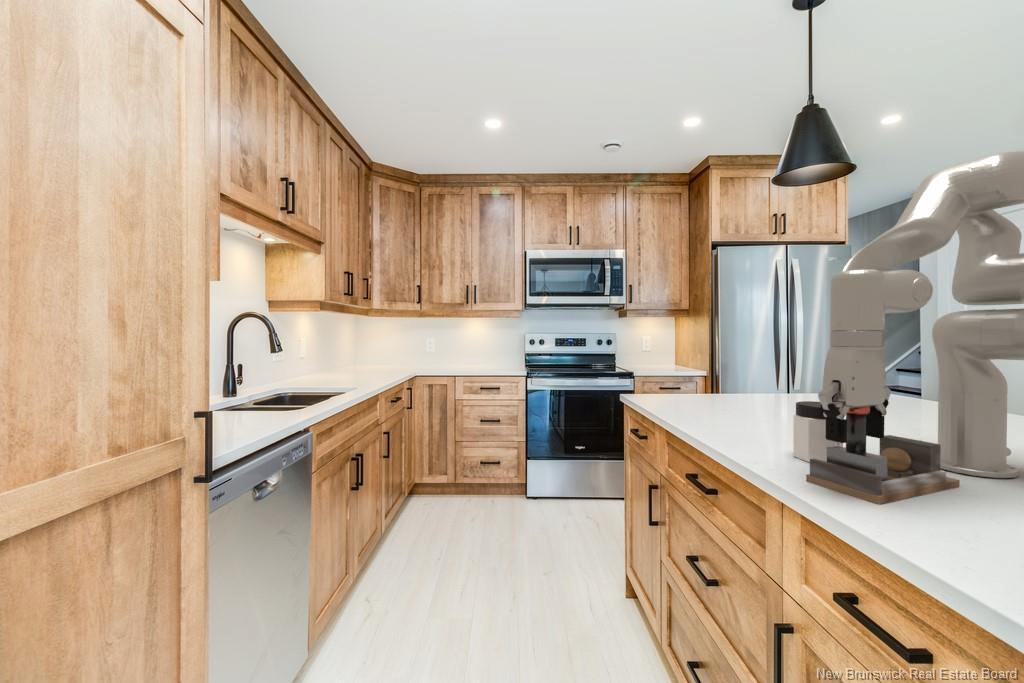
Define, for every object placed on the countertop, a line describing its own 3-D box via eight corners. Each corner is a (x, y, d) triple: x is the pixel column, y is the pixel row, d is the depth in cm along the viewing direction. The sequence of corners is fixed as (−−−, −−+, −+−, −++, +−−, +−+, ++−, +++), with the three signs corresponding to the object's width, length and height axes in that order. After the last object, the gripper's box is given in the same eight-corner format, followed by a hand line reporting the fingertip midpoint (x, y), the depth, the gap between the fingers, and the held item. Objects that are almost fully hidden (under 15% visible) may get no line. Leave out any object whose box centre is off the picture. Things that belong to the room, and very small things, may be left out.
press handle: (839, 472, 82) (839, 401, 81) (888, 486, 74) (889, 408, 74) (825, 474, 80) (825, 402, 80) (874, 489, 73) (874, 410, 73)
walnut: (888, 466, 84) (888, 443, 84) (916, 473, 80) (916, 449, 80) (873, 469, 82) (873, 446, 82) (901, 476, 78) (901, 452, 78)
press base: (882, 467, 89) (882, 432, 89) (959, 486, 78) (960, 446, 78) (806, 481, 82) (806, 442, 81) (879, 504, 70) (879, 459, 70)
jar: (830, 467, 90) (830, 408, 89) (787, 458, 96) (787, 403, 96) (848, 460, 95) (849, 404, 94) (806, 451, 101) (806, 399, 101)
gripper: (865, 341, 83) (863, 431, 84) (800, 341, 77) (799, 438, 78) (912, 341, 76) (911, 439, 77) (845, 341, 70) (844, 448, 71)
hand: (854, 438), depth 77 cm, fingers open, 9 cm apart
